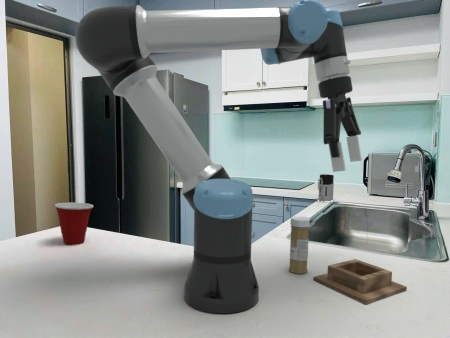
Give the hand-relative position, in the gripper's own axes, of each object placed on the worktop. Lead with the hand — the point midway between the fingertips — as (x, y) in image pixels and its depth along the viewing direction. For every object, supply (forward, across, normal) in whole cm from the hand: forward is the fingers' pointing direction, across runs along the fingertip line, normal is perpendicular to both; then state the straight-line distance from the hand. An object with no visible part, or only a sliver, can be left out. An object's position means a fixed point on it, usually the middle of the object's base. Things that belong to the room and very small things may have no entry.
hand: (348, 165), depth 84 cm
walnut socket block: (+26, -10, -1) cm, 28 cm away
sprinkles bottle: (+24, -11, +13) cm, 29 cm away
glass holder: (+33, +97, +48) cm, 113 cm away
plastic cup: (+10, -31, +76) cm, 83 cm away
